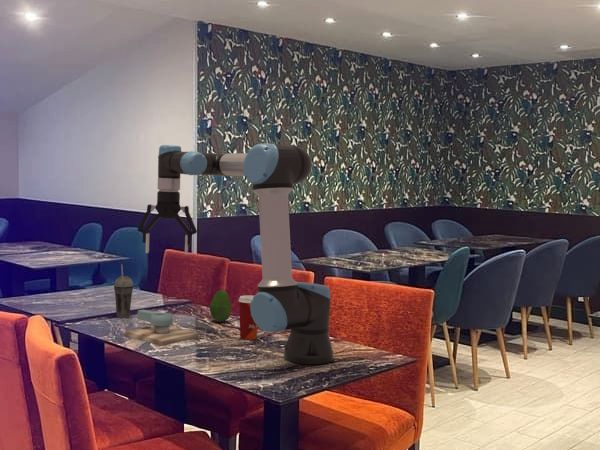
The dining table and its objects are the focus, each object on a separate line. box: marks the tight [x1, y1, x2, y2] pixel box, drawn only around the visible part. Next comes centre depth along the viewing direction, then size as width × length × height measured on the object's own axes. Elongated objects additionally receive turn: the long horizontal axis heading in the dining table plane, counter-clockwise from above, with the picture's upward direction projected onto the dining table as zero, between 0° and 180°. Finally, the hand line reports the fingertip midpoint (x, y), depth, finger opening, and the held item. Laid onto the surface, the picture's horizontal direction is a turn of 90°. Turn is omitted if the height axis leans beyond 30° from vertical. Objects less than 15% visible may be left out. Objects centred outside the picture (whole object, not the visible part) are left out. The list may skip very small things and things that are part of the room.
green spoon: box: [137, 309, 174, 326], centre depth 233 cm, size 14×7×3 cm, turn 52°
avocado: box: [209, 289, 232, 323], centre depth 257 cm, size 8×8×12 cm
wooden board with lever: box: [124, 325, 199, 346], centre depth 231 cm, size 18×16×4 cm
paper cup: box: [237, 294, 259, 341], centre depth 234 cm, size 8×8×14 cm
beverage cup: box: [113, 263, 134, 319], centre depth 258 cm, size 7×7×20 cm
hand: (166, 253), depth 236 cm, fingers open, 12 cm apart
